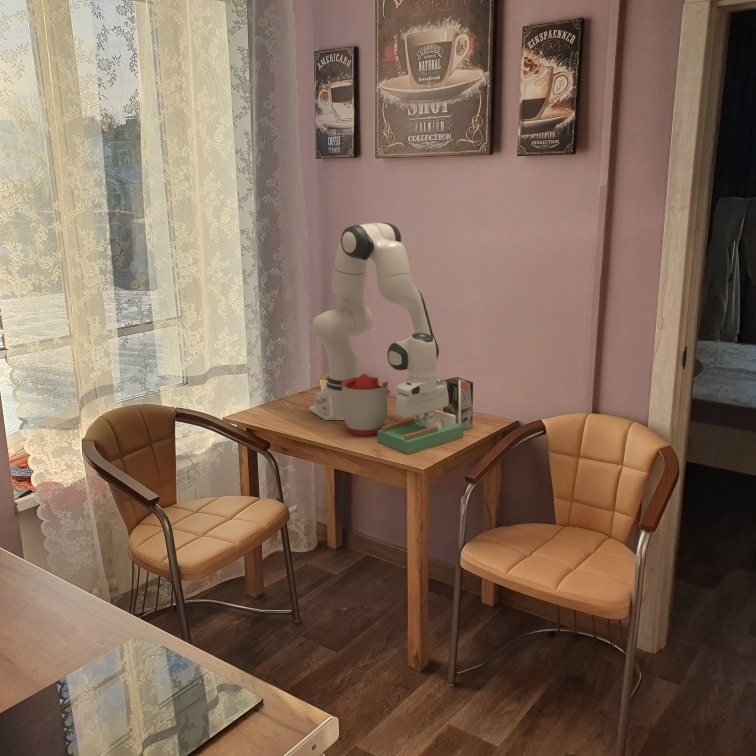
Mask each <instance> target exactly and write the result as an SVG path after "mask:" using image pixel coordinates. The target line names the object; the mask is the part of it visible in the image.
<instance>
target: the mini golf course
mask: <svg viewBox="0 0 756 756" xmlns="http://www.w3.org/2000/svg"><path fill="white" fill-rule="evenodd" d="M461 388H463V389H466V390H467V383H466V382H463V381H459V401H458V424H457V423H456V416H455V415H452V414H448V413H445V412H443V410H440V409H437V410H433V411H432V414H431V415H430V417H429V419H428V422H429V421H430V420H431V419H433V418H436V419H439V420H440V421H441V422H442V429H439V430H438V427H437V426H434V427H431V428H428V427H427V425H424V426H419V425H418V420H417V419H415V418H414V417H412V418H409V419H408V418H407V419H405V420H401V421H397V422H394V423H391V424H388V425H386V424H385V425H384V426H383V427H382V429H381V430H377V431H378V434H377V443H378V442H379V444H382V445H384V446H386V447H388V448H391V449H394V450H397V451H399V452H401V453H404V454H407V455H411V454H414V453H417V452H421V451H424V450H427V449H430V448H434V447H436V446H440V445H443V444H446V443H448V442H449V443H450V442H452V441H455V440H459V439H462V438H463V437H464V430H463V425H461ZM421 418H422V419H423V417H421Z"/></svg>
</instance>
